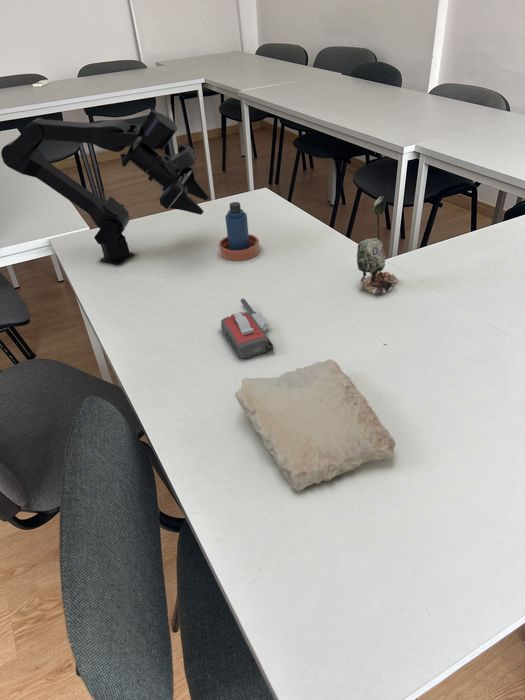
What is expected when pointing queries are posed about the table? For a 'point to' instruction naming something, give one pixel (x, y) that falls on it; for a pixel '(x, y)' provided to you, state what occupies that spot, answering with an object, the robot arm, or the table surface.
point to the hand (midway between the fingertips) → (205, 205)
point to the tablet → (314, 423)
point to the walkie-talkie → (246, 332)
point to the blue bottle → (237, 228)
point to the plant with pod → (374, 260)
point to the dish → (239, 254)
